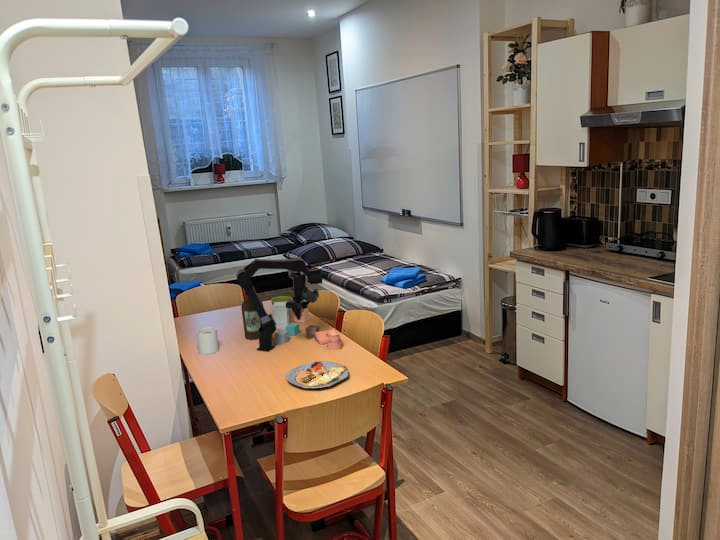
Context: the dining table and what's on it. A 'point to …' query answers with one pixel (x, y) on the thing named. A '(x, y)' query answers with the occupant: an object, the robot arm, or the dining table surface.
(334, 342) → the pottery
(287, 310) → the supplement box
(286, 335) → the slate grey block
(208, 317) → the dining table surface
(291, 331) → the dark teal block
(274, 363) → the dining table surface
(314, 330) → the walnut block
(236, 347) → the dining table surface
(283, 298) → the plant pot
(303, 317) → the terracotta block
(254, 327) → the olive oil
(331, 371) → the food plate
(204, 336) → the mug
